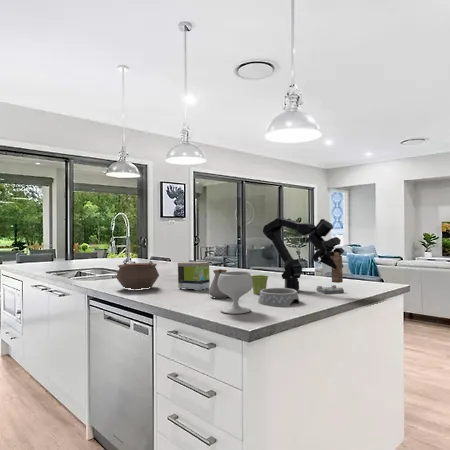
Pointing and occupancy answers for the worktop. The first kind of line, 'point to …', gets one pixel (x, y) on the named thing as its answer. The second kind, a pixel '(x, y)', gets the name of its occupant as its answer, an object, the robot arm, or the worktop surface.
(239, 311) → the chalice
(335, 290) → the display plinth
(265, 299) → the dog bowl
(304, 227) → the robot arm
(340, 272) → the pepper mill
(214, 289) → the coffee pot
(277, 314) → the worktop surface
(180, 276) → the tea box
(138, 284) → the brown faceted rounded vessel
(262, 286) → the plant pot
